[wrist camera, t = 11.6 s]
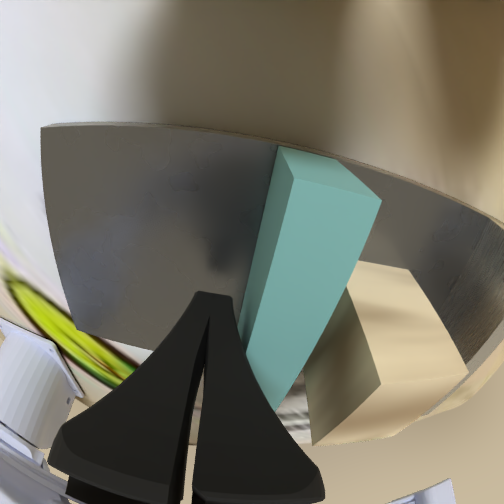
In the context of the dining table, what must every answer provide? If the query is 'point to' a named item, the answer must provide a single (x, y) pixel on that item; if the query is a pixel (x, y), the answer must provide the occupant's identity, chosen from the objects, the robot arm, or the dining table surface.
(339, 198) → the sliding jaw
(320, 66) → the dining table surface
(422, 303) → the birch block
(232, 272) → the vise
